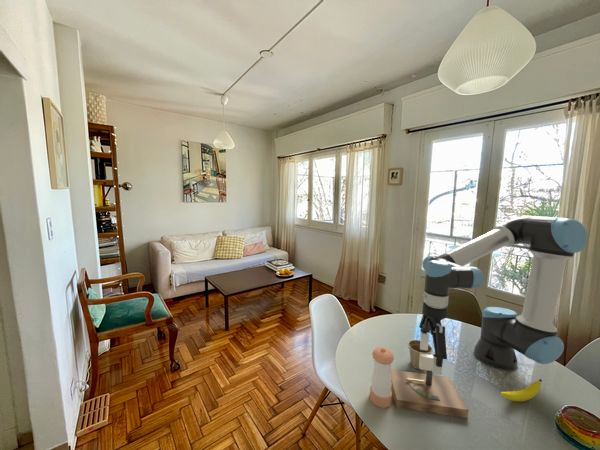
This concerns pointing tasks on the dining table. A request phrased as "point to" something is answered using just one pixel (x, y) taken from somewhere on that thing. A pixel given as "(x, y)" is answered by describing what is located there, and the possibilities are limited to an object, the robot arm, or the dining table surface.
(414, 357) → the flower pot
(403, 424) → the dining table surface
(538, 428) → the dining table surface
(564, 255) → the robot arm
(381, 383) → the salt shaker
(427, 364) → the white angular block
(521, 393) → the banana
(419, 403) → the tuner board
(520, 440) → the dining table surface
